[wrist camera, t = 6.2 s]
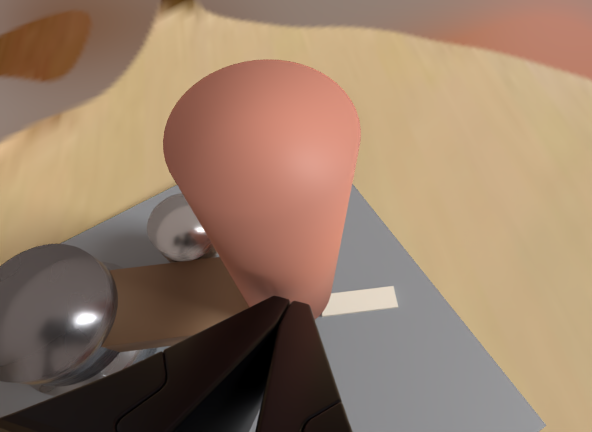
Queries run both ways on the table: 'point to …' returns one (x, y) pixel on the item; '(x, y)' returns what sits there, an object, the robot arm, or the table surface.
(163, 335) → the crank
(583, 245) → the table surface
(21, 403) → the crank base
